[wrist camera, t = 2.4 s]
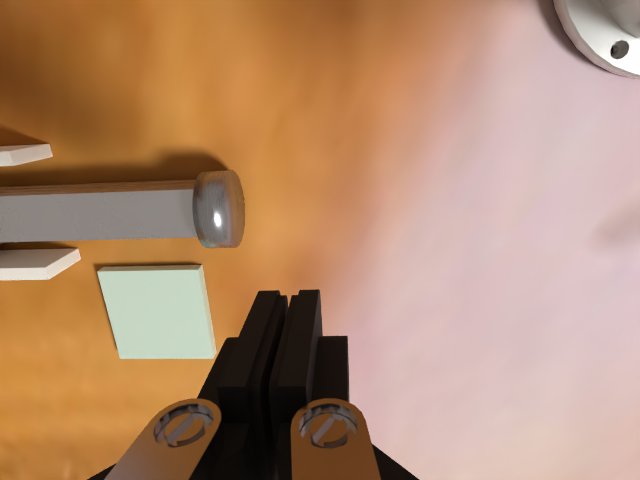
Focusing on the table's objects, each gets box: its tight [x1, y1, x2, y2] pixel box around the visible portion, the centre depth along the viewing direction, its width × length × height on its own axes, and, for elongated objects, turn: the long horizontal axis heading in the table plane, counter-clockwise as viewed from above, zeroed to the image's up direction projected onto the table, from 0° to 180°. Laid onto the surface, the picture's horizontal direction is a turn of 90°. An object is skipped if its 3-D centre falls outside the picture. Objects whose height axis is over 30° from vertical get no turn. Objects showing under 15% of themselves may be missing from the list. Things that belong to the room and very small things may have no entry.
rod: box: [0, 170, 245, 248], centre depth 24 cm, size 16×4×4 cm, turn 93°
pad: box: [97, 265, 217, 359], centre depth 29 cm, size 7×7×1 cm
